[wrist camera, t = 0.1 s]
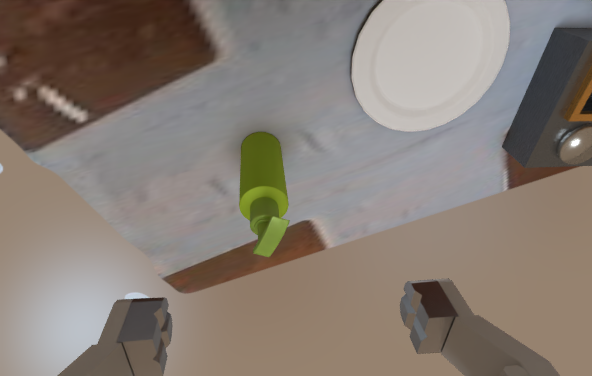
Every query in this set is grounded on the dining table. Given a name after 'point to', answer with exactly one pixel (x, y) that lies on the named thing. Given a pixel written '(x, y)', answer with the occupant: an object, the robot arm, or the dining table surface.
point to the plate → (428, 59)
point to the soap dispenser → (263, 190)
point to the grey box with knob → (557, 106)
